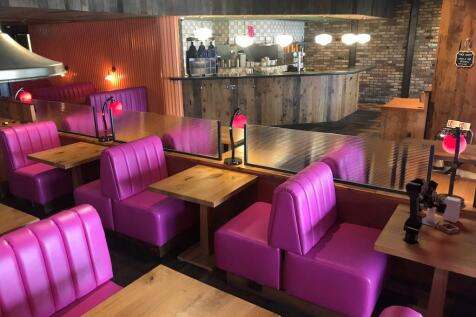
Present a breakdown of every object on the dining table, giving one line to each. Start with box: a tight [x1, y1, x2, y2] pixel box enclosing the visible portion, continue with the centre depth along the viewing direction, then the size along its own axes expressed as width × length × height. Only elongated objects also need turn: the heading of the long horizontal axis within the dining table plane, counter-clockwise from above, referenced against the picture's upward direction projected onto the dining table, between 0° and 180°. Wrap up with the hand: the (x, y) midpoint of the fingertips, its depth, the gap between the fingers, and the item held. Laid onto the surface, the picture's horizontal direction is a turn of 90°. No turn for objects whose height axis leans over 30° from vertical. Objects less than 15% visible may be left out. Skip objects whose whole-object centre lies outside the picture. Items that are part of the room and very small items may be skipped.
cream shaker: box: [425, 207, 437, 223], centre depth 254 cm, size 4×4×11 cm
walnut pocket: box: [437, 222, 460, 234], centre depth 245 cm, size 8×8×2 cm
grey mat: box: [422, 216, 440, 228], centre depth 255 cm, size 11×9×1 cm
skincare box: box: [442, 196, 462, 224], centre depth 257 cm, size 8×6×15 cm
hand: (430, 210), depth 252 cm, fingers open, 9 cm apart
